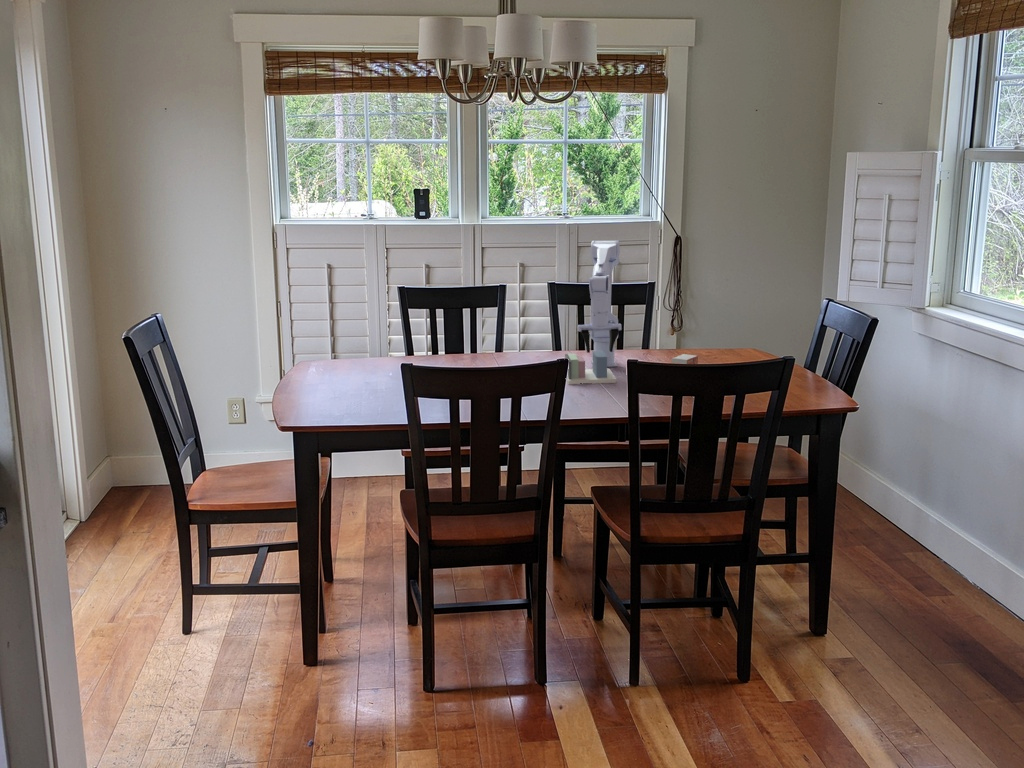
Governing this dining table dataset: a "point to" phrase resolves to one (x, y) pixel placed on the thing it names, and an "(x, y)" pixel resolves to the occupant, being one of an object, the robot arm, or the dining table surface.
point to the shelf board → (593, 378)
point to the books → (577, 366)
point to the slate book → (599, 364)
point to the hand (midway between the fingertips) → (599, 351)
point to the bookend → (569, 366)
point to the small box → (685, 359)
